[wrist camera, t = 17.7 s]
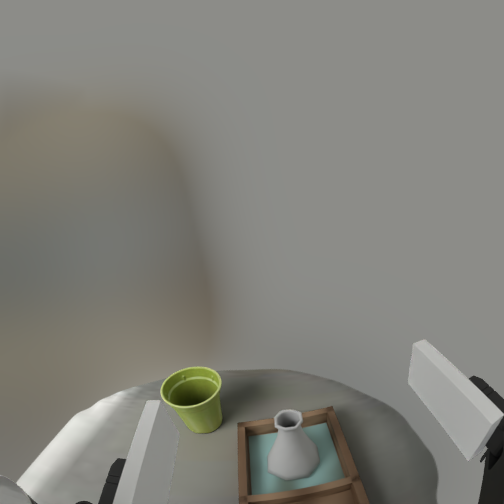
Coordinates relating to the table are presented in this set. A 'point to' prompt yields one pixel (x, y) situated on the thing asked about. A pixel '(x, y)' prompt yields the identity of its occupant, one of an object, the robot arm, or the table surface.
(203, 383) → the plant pot
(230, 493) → the table surface
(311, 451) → the flask
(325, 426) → the walnut caddy
